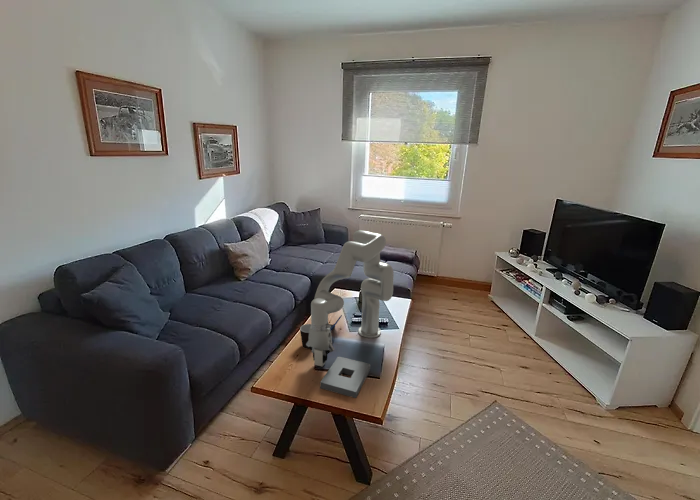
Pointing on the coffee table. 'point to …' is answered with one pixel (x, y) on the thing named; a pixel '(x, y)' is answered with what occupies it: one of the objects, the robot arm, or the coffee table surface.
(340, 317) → the handheld game console
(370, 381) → the coffee table surface
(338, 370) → the socket plate
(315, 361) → the plug
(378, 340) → the coffee table surface
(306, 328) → the coffee mug
